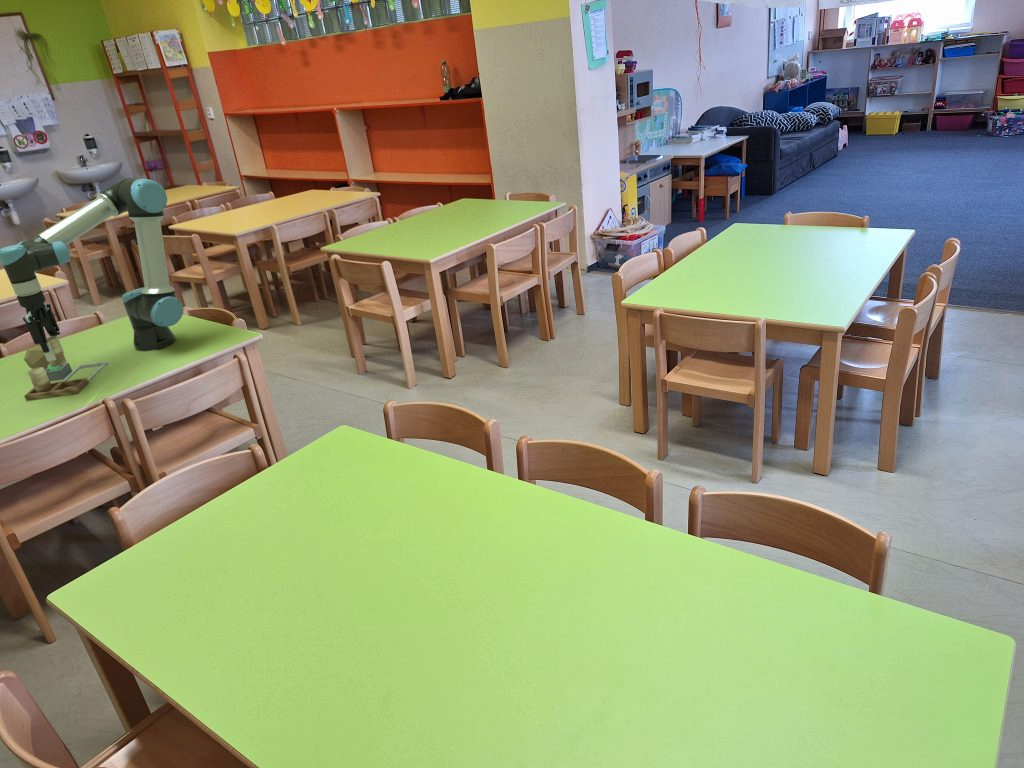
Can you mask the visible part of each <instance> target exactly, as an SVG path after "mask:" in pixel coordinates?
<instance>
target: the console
mask: <svg viewBox="0 0 1024 768" xmlns="http://www.w3.org/2000/svg"><path fill="white" fill-rule="evenodd" d="M60 366H61V367H60V368H59V369H58V370H51V371H49V368H48V367H47V368H46V369H45V372H46V374H47V376H48V379H49V381H50V382H56V381H63V380H64V379H65V378H66V377H67V376H68V375H69V374H70V373H71V372H72V371H73V369H72V367H71V365H70V363H69V362H66V363H65V364H63V365H60Z"/></svg>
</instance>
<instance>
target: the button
mask: <svg viewBox="0 0 1024 768" xmlns="http://www.w3.org/2000/svg"><path fill="white" fill-rule="evenodd" d="M60 367H61V366H56V367H51V366H50V364H49V365H48V368H49V371H51V370H58V369H59V368H60Z"/></svg>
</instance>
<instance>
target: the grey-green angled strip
mask: <svg viewBox="0 0 1024 768" xmlns="http://www.w3.org/2000/svg"><path fill="white" fill-rule="evenodd" d="M108 365H109V362H108V361H101V362H93V363H85V364H79V365H78V366H77V367H76V368H74V369H73V370H72V372H71V373H70V374H69V375H68V376H67V377H66V378H64V379H62V381H67V380H70V378H72V376H74V375H75V374H76V373H77V372H78V371H79V370H82V369H89V368H90V369H91V368H96V367H97V369H96V370H95V371H94V372H92V373H91V375H90V376H89V377H88V378H87V379H88V382H89V383H90V381H91V380H93V378H94V377H96V375H98V373H99V372H101V371H102V370H103V368H105V366H108Z"/></svg>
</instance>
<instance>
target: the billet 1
mask: <svg viewBox="0 0 1024 768" xmlns="http://www.w3.org/2000/svg"><path fill="white" fill-rule="evenodd" d="M27 374H28V377H29V378H30V382H31V383H32V386H33V388H35V390H36V392H37V393H40V392H48V391H50V390H51V389H52V385H51V383H52V382H51V381H49V379H48V376H47V374H46V372H45V369H44V368H43V367H39V368H34V369H32V368H31V369H30V370H29V371H27Z"/></svg>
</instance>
